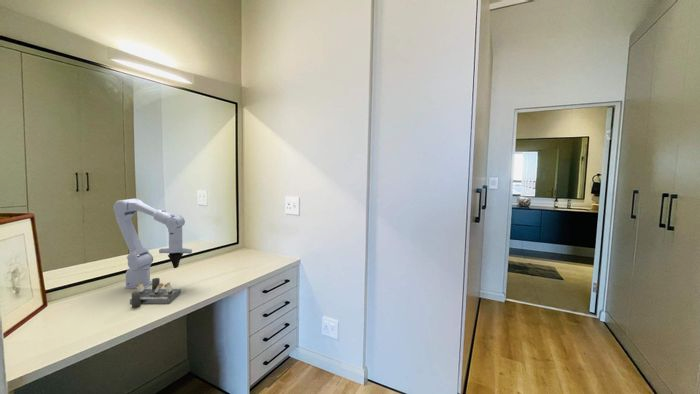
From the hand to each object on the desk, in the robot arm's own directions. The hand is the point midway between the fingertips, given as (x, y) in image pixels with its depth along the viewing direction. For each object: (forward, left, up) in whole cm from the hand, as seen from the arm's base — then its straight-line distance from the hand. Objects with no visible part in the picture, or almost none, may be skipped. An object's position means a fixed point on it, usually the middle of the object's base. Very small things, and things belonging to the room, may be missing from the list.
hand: (176, 267), depth 143 cm
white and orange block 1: (-9, -12, -7) cm, 17 cm away
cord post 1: (-7, -20, -10) cm, 23 cm away
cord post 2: (-7, -5, -10) cm, 13 cm away
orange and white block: (+3, -12, -7) cm, 14 cm away
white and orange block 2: (-3, -12, -7) cm, 14 cm away
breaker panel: (-3, -12, -10) cm, 16 cm away
